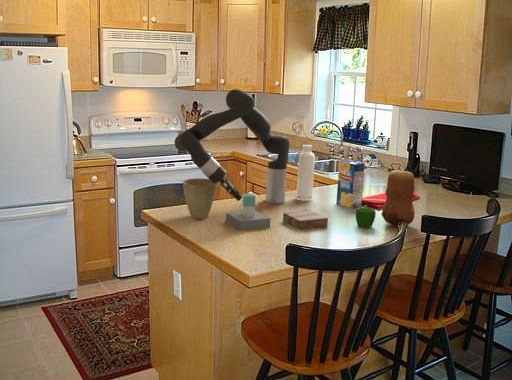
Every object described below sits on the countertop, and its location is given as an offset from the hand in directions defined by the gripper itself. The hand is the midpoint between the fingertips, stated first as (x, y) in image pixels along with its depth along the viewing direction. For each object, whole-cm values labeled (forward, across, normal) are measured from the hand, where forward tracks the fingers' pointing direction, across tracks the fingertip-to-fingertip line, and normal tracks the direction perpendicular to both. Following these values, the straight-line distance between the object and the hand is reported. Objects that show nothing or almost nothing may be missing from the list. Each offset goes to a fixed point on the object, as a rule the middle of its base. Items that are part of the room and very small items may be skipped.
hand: (239, 197), depth 245 cm
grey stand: (+12, 0, +6) cm, 13 cm away
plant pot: (-2, +12, +20) cm, 24 cm away
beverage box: (+51, +35, -34) cm, 70 cm away
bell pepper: (+48, -3, -30) cm, 57 cm away
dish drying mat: (+68, +44, -50) cm, 95 cm away
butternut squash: (+58, -2, -42) cm, 72 cm away
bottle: (+36, +47, -20) cm, 63 cm away
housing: (+9, 0, +3) cm, 9 cm away
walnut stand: (+29, +1, -12) cm, 32 cm away
